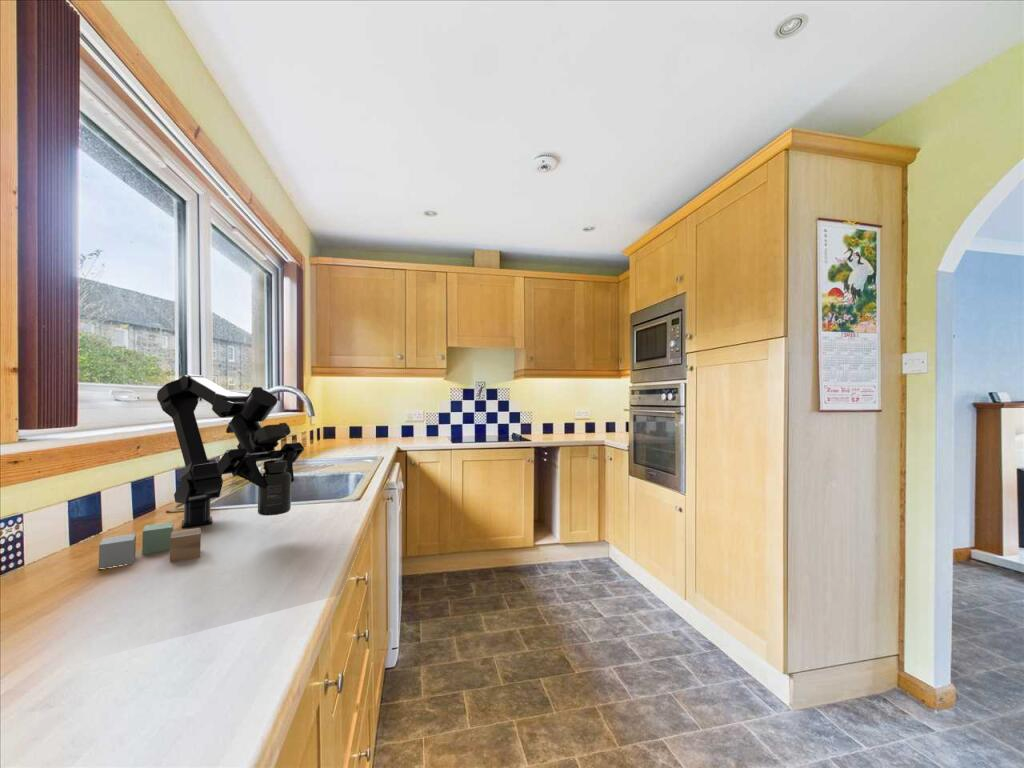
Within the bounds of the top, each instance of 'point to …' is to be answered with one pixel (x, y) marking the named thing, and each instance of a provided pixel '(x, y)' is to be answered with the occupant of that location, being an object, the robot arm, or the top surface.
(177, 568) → the top surface
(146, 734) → the top surface
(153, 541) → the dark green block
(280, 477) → the supplement bottle
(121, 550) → the slate grey block
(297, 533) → the top surface
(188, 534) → the walnut block
